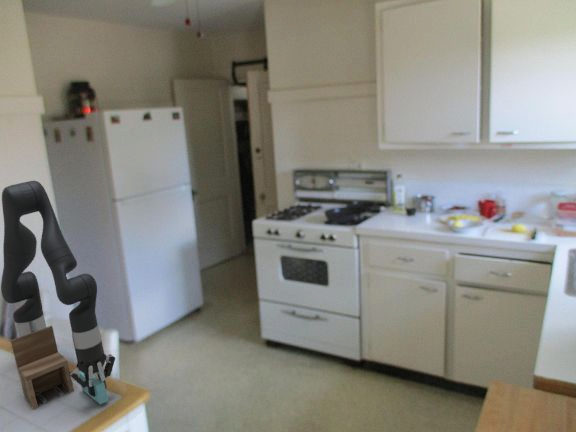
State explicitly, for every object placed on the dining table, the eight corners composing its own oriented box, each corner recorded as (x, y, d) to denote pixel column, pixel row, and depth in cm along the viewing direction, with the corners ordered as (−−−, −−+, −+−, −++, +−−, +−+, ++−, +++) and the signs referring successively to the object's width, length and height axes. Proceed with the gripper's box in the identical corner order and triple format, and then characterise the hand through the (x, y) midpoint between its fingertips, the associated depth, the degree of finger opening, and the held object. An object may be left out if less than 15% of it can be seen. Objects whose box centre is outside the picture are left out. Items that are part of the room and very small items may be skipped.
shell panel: (82, 389, 154) (78, 372, 153) (89, 385, 156) (85, 368, 155) (100, 404, 144) (95, 386, 143) (108, 400, 146) (104, 382, 144)
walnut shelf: (24, 398, 153) (10, 340, 148) (63, 381, 161) (51, 325, 156) (33, 409, 147) (19, 349, 142) (74, 391, 155) (61, 333, 150)
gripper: (105, 328, 150) (114, 378, 154) (58, 347, 141) (70, 399, 145) (115, 335, 144) (125, 387, 149) (68, 355, 135) (80, 409, 140)
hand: (98, 393), depth 147 cm, fingers closed on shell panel, 2 cm apart
